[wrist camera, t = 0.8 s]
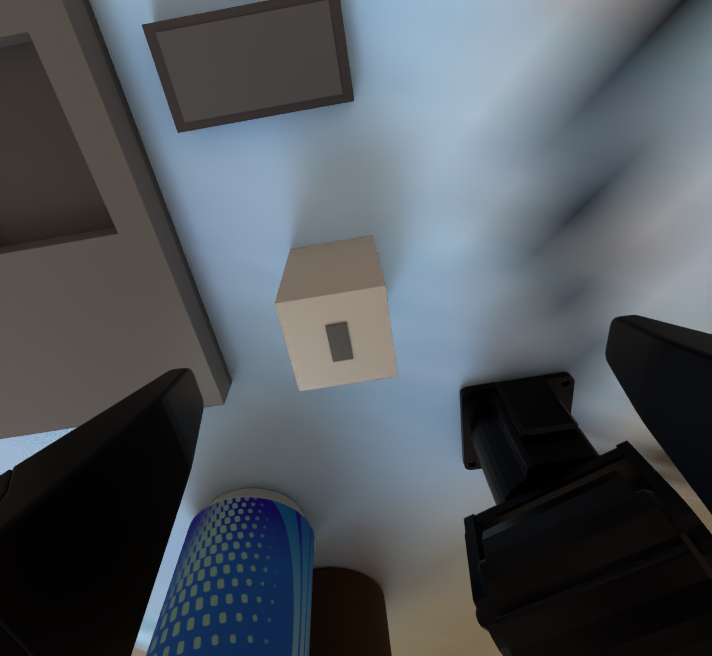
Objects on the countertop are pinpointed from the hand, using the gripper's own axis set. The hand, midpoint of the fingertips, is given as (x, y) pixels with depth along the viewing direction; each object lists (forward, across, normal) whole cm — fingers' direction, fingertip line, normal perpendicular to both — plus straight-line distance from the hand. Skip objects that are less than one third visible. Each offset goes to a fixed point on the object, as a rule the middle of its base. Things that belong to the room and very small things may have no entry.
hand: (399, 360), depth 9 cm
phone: (+12, +4, -7) cm, 14 cm away
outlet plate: (+12, +16, -1) cm, 20 cm away
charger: (+12, +2, +3) cm, 13 cm away
